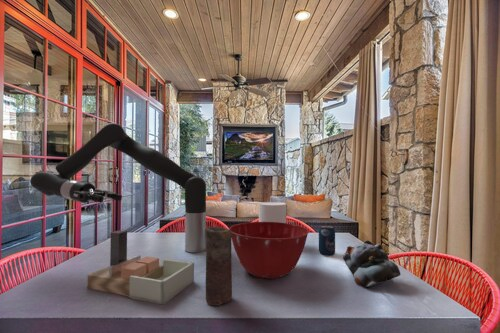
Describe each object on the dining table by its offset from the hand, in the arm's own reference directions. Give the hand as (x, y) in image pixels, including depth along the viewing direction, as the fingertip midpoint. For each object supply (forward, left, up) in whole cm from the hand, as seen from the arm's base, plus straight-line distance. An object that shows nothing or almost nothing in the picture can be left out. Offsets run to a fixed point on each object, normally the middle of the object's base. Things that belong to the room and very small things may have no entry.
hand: (112, 198), depth 94 cm
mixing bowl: (-48, +29, -26) cm, 62 cm away
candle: (-24, +39, -26) cm, 53 cm away
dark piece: (-1, +11, -22) cm, 25 cm away
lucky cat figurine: (-72, +54, -26) cm, 93 cm away
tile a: (-10, +16, -22) cm, 29 cm away
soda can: (-81, +26, -26) cm, 89 cm away
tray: (-13, +25, -26) cm, 38 cm away
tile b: (-5, +20, -22) cm, 30 cm away
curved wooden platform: (-4, +14, -26) cm, 30 cm away
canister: (-70, +1, -26) cm, 75 cm away
